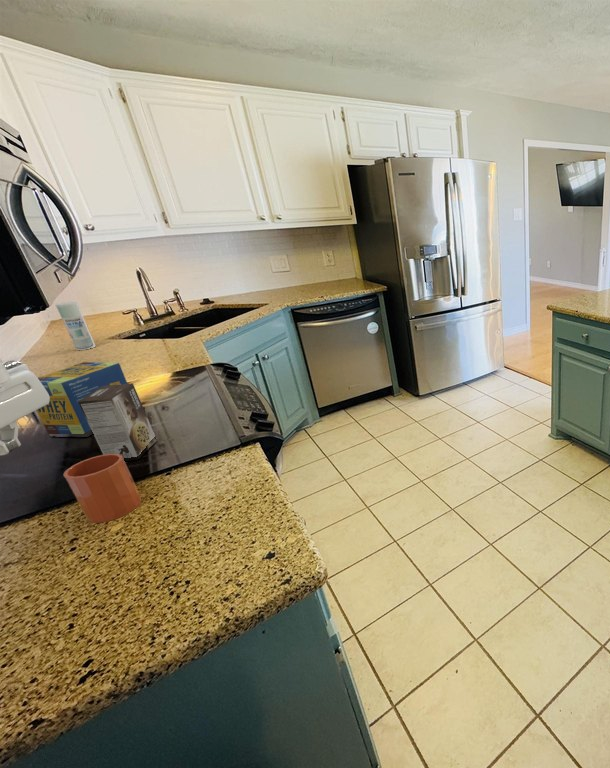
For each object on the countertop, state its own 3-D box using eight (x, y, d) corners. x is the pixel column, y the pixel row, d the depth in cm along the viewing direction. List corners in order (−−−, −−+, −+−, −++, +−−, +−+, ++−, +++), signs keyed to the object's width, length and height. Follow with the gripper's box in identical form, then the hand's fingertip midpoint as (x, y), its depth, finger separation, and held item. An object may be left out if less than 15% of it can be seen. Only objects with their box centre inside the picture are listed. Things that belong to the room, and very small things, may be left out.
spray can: (75, 351, 174) (53, 305, 166) (77, 348, 179) (56, 303, 171) (95, 348, 178) (76, 303, 170) (97, 345, 183) (77, 301, 175)
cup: (76, 526, 74) (51, 480, 70) (105, 499, 81) (83, 456, 77) (126, 519, 76) (104, 474, 72) (150, 493, 83) (131, 451, 79)
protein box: (48, 438, 105) (19, 382, 99) (107, 411, 119) (84, 361, 113) (86, 438, 104) (59, 383, 98) (141, 411, 118) (120, 361, 112)
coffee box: (127, 445, 100) (101, 385, 94) (158, 441, 102) (134, 382, 96) (106, 465, 92) (75, 401, 86) (140, 460, 94) (112, 397, 88)
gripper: (-1, 358, 74) (36, 425, 79) (-137, 405, 55) (-77, 489, 61) (41, 355, 75) (74, 421, 80) (-79, 400, 57) (-25, 482, 62)
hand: (8, 451), depth 70 cm, fingers closed
